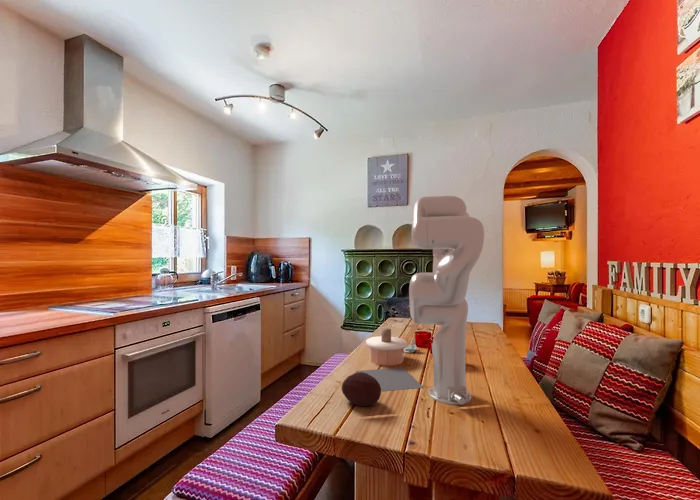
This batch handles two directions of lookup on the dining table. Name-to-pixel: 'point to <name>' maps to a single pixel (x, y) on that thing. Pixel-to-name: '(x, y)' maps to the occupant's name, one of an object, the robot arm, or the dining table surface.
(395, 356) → the bowl
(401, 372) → the mat
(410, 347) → the pacifier
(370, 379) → the potato
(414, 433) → the dining table surface
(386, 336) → the lid
